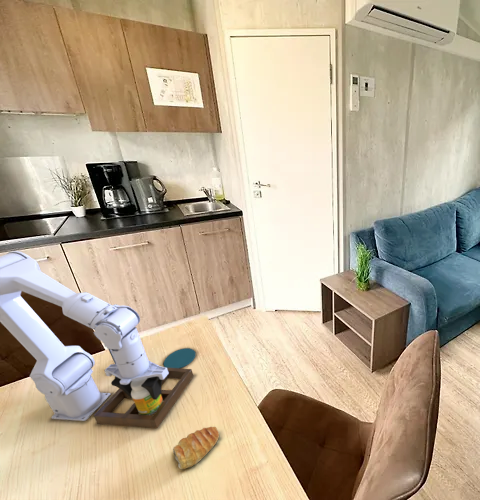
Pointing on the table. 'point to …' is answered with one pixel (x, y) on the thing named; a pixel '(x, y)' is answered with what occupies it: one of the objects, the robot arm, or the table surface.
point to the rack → (132, 414)
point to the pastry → (195, 446)
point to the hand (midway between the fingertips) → (146, 395)
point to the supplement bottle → (144, 398)
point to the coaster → (180, 358)
